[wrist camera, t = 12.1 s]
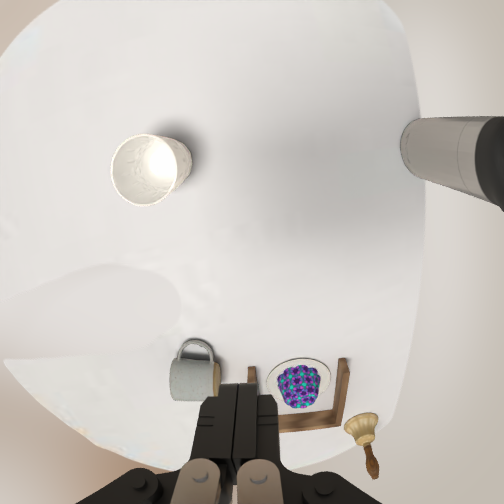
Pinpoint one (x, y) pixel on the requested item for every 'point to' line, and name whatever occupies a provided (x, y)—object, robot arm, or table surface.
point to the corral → (321, 417)
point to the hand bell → (365, 438)
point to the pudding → (299, 382)
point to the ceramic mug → (194, 376)
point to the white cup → (149, 168)
